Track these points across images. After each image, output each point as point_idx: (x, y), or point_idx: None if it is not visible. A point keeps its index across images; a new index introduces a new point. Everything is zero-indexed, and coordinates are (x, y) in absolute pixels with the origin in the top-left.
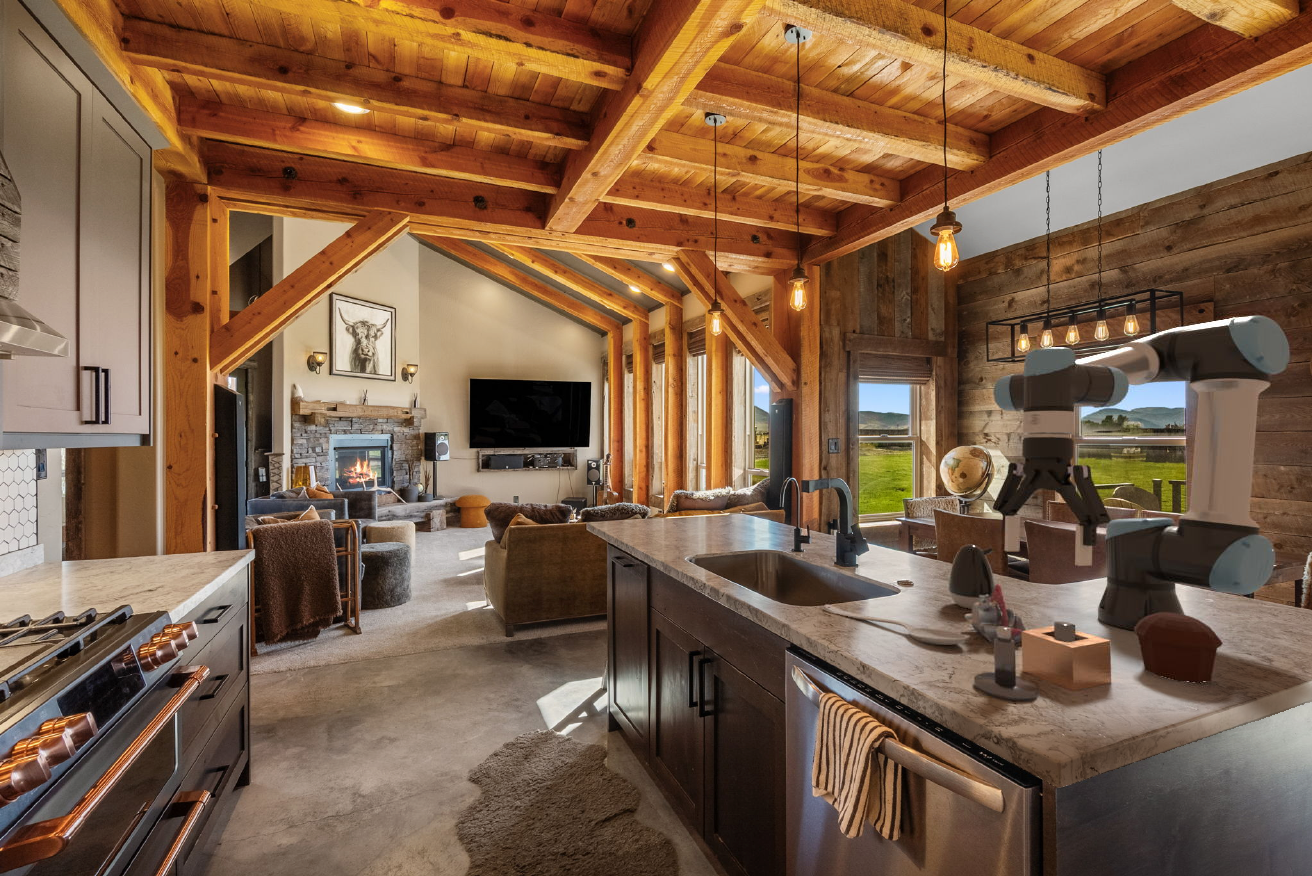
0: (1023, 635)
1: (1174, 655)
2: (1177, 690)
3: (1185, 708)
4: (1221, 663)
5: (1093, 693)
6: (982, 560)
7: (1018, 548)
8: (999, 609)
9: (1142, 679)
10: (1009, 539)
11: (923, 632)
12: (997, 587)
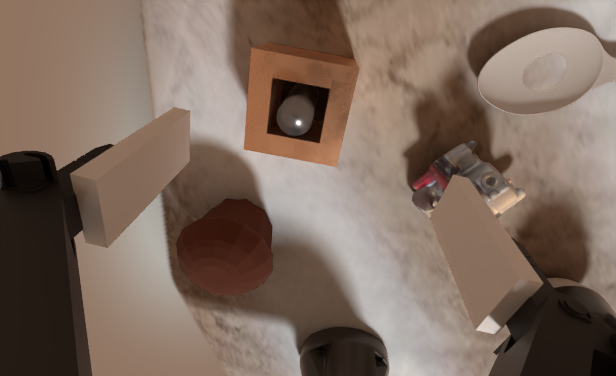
0: (354, 66)
1: (213, 212)
2: (208, 166)
3: None
4: None
5: (249, 59)
6: None
7: (434, 219)
8: None
9: (247, 171)
10: (466, 205)
11: (573, 89)
12: None
